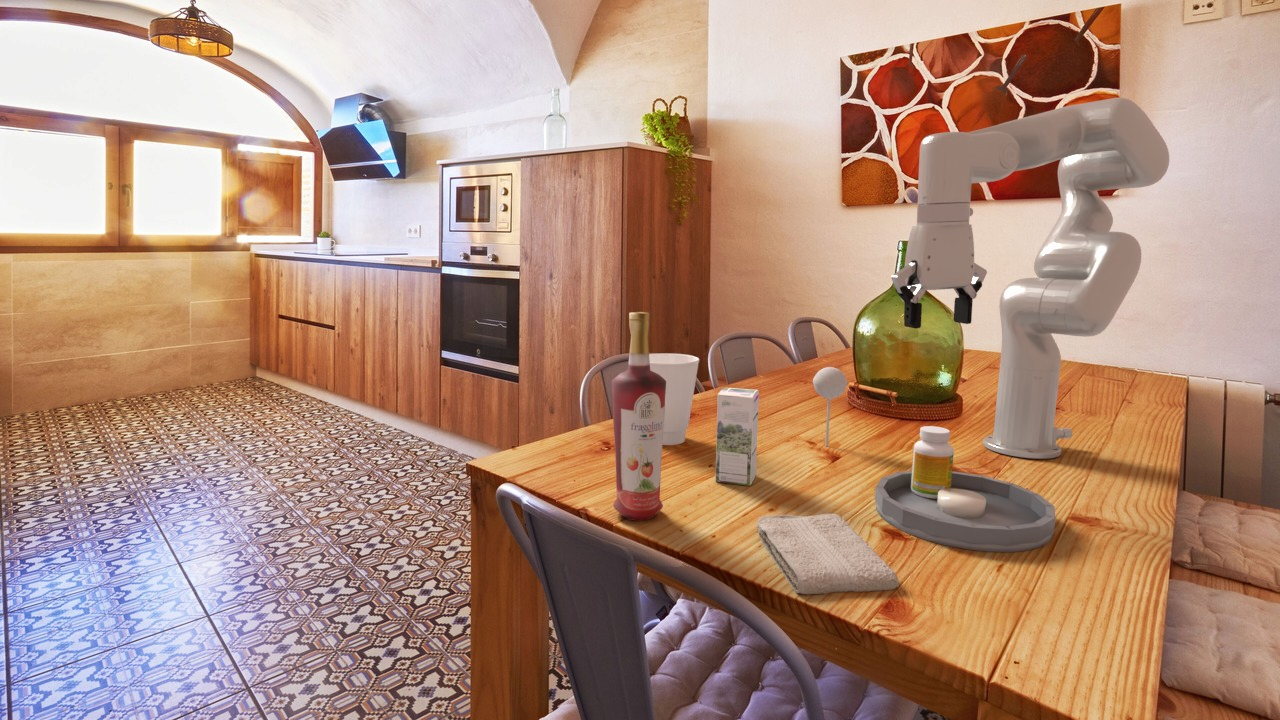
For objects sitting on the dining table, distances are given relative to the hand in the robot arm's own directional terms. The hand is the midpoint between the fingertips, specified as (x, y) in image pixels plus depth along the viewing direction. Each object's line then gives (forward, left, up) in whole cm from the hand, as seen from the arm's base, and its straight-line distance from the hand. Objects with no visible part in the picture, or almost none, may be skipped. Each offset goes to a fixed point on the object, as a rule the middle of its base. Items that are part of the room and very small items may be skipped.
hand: (937, 325), depth 108 cm
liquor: (+51, +6, -25) cm, 57 cm away
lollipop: (+8, -17, -25) cm, 31 cm away
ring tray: (+8, +18, -25) cm, 31 cm away
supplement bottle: (+8, +11, -24) cm, 27 cm away
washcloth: (+33, +23, -25) cm, 48 cm away
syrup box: (+32, -4, -25) cm, 41 cm away
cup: (+36, -28, -25) cm, 52 cm away
